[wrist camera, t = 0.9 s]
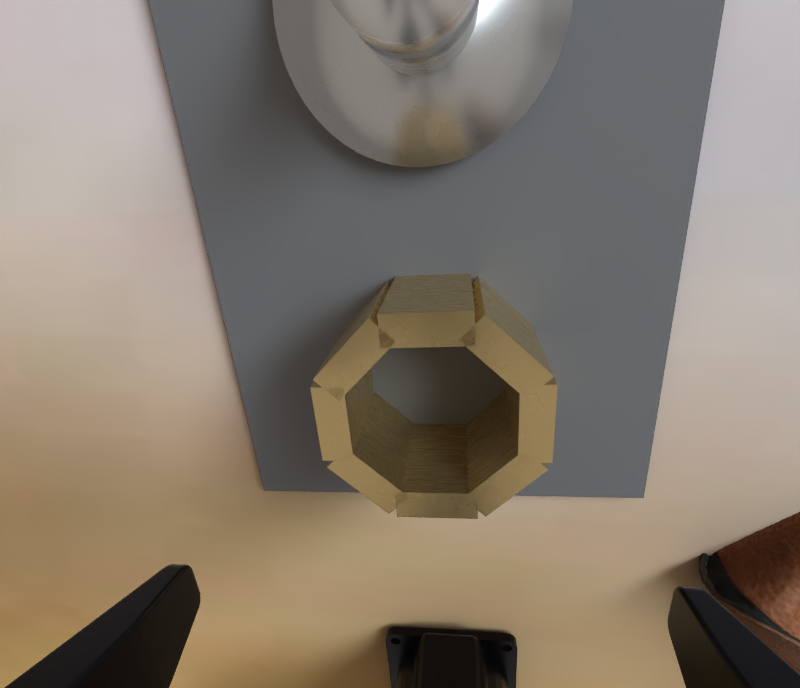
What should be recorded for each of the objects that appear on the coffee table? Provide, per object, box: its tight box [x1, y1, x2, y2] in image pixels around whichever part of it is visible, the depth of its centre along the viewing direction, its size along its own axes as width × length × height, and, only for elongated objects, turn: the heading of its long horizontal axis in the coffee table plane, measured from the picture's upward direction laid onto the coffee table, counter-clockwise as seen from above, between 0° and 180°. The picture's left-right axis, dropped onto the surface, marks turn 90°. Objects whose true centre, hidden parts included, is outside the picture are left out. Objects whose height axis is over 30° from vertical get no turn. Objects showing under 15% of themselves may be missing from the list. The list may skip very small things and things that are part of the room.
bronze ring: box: [310, 273, 558, 519], centre depth 15 cm, size 7×7×4 cm
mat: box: [148, 0, 725, 498], centre depth 15 cm, size 22×16×1 cm
